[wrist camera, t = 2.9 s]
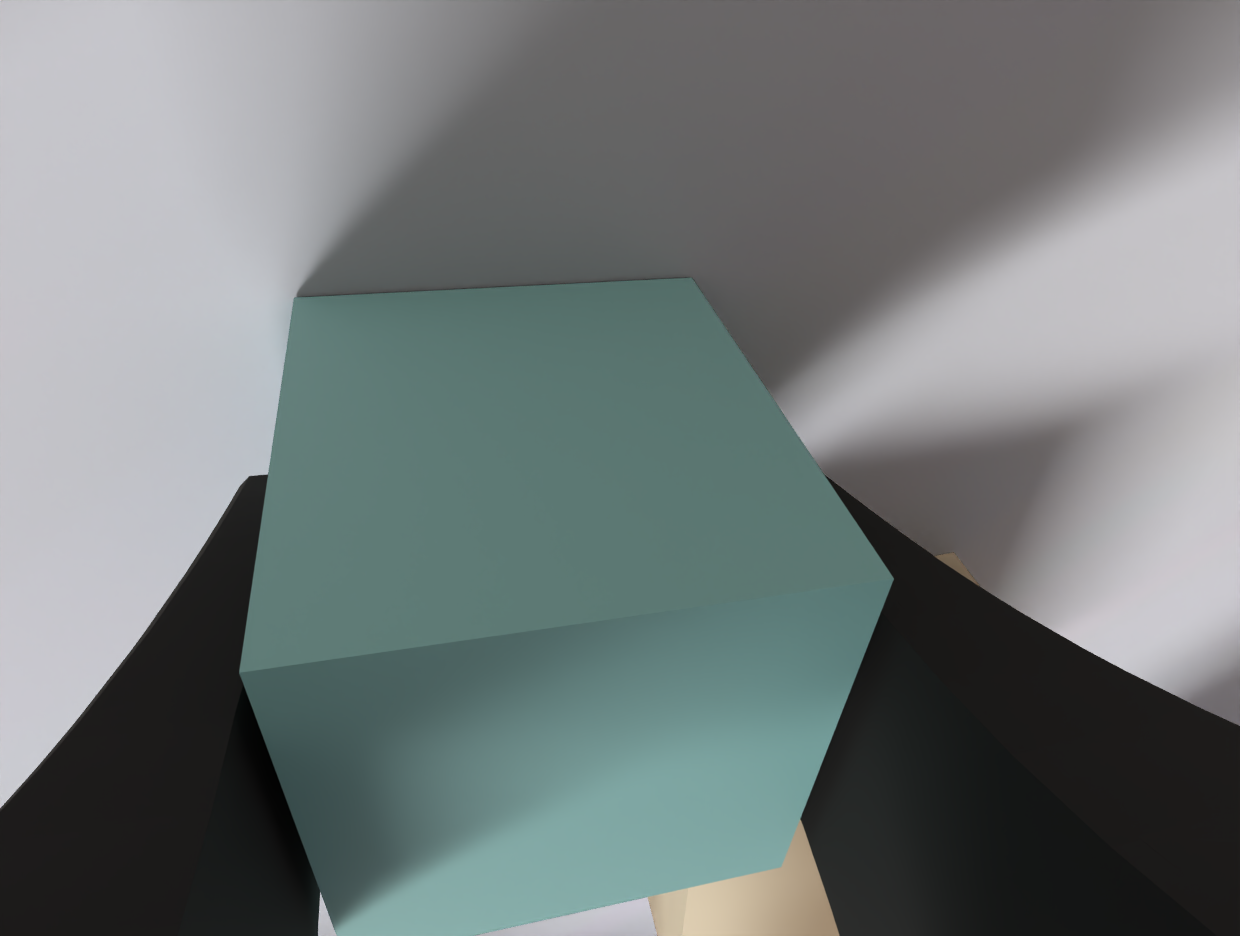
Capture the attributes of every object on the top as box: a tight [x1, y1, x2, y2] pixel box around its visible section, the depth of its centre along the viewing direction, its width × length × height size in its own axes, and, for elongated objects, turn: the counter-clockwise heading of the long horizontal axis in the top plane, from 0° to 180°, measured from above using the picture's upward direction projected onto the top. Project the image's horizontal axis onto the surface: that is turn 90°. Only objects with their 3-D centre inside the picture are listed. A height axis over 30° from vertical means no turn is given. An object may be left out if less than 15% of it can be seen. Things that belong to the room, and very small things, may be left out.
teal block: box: [239, 278, 894, 936], centre depth 9 cm, size 4×4×5 cm
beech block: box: [648, 552, 979, 936], centre depth 14 cm, size 6×6×4 cm
